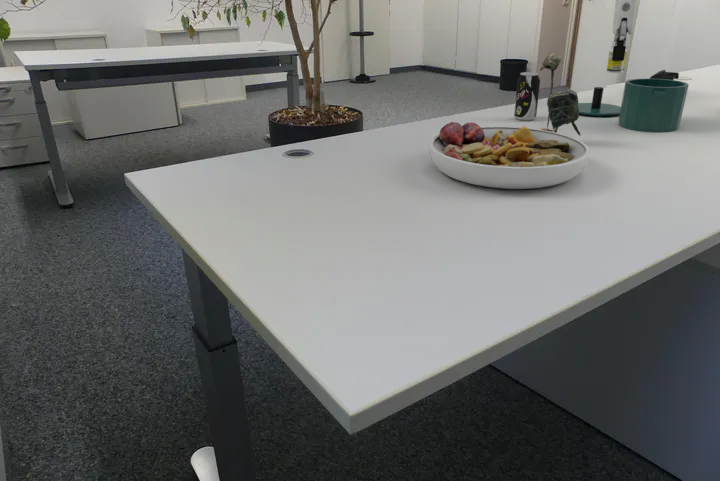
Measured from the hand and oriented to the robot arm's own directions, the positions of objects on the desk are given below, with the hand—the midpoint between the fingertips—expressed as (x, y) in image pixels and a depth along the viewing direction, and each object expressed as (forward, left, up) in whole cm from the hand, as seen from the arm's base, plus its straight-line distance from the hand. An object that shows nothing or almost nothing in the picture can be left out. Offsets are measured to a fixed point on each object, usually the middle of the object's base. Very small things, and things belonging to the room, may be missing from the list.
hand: (617, 58), depth 161 cm
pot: (-8, +30, -12) cm, 33 cm away
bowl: (+22, +76, -13) cm, 80 cm away
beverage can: (+22, +30, -13) cm, 39 cm away
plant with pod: (+14, +53, -13) cm, 56 cm away
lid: (+5, +16, -12) cm, 20 cm away
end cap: (-16, -17, -13) cm, 26 cm away
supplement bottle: (0, 0, -4) cm, 4 cm away
